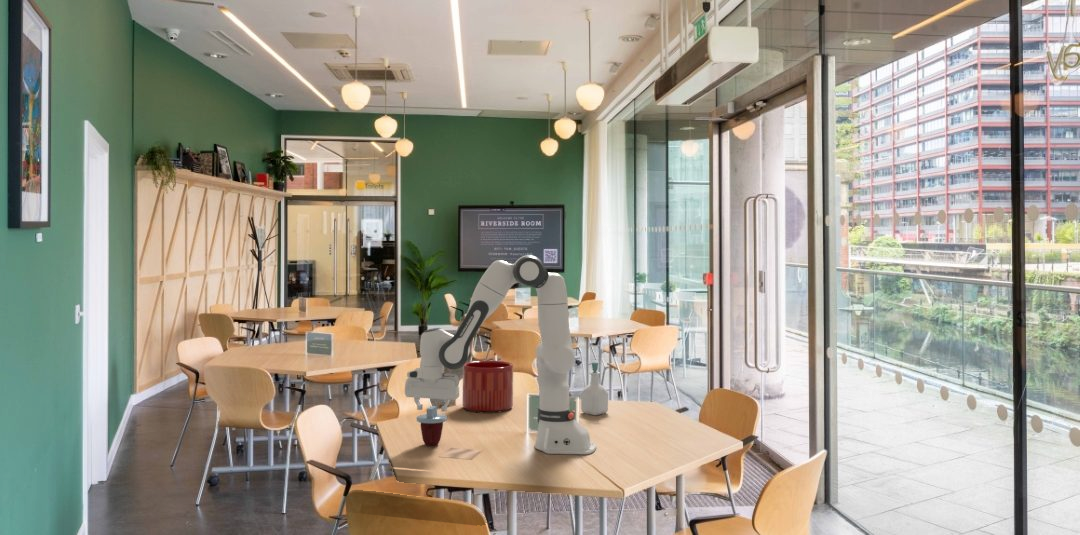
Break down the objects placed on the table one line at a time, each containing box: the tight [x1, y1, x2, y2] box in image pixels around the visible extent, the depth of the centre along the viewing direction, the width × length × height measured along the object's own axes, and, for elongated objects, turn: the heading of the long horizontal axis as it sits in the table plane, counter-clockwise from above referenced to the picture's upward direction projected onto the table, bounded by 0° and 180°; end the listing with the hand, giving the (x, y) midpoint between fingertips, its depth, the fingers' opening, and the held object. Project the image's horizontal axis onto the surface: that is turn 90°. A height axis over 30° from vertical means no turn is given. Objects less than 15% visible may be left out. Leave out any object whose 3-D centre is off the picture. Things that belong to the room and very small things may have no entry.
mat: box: [438, 447, 484, 461], centre depth 252 cm, size 12×12×1 cm
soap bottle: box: [580, 361, 609, 416], centre depth 321 cm, size 10×10×23 cm
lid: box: [416, 405, 448, 424], centre depth 262 cm, size 11×11×4 cm
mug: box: [420, 422, 444, 447], centre depth 262 cm, size 11×8×10 cm
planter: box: [462, 360, 514, 413], centre depth 329 cm, size 23×23×20 cm
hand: (431, 410), depth 262 cm, fingers open, 8 cm apart
